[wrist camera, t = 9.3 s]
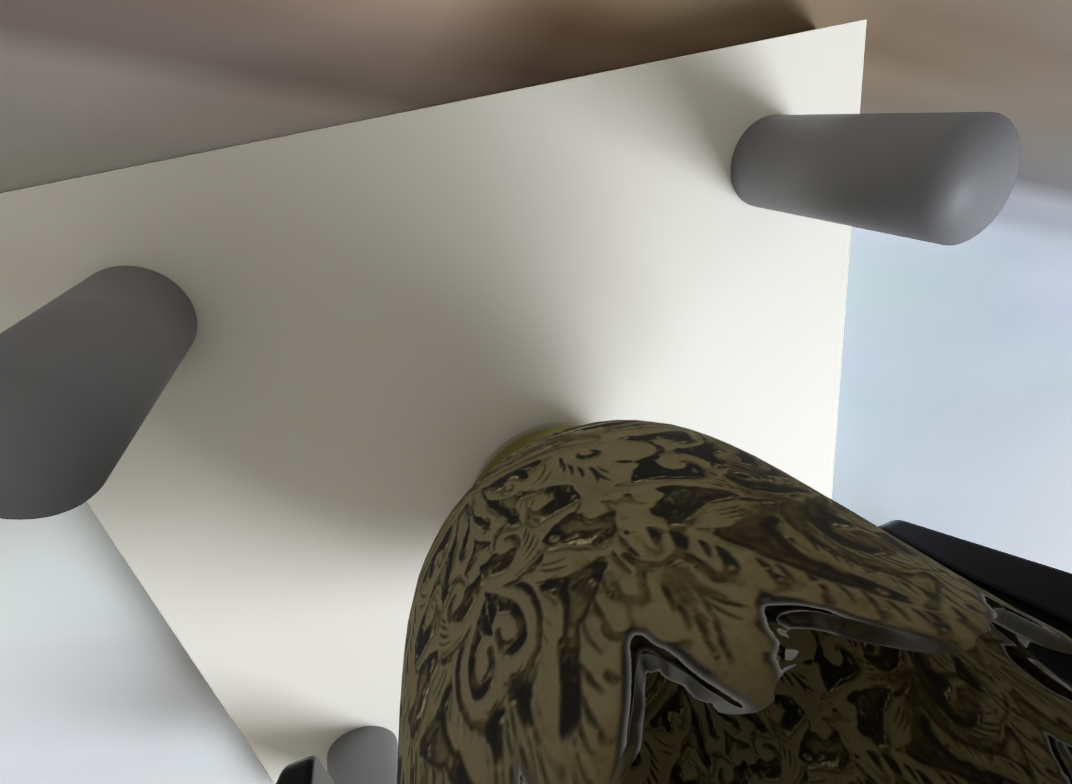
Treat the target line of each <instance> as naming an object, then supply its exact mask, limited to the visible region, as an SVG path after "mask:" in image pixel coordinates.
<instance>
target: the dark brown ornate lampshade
mask: <svg viewBox="0 0 1072 784" xmlns="http://www.w3.org/2000/svg"><path fill="white" fill-rule="evenodd" d="M1002 605H1004V606H1006V607H1008V608H1010V609H1012V610H1014V611H1016V612H1018V613H1020V614H1022V615H1024V616H1025V617H1027V618H1029V619H1031V620H1033V621H1035V622H1037V623H1039V624H1040V625H1042V626H1043V627H1042V626H1040V625H1038V624H1036V623H1034V622H1031V621H1029V620H1027V619H1025V618H1022V617H1020V616H1018V615H1017V614H1014V613H1012V612H1011V611H1007V610H1005V608H1004V607H1003V606H1002ZM1030 641H1031V642H1033V643H1036V644H1038V645H1041V646H1043V647H1046V648H1049V649H1052V650H1055V651H1058V652H1062V653H1067V654H1072V639H1071V638H1070V637H1068V636H1067V635H1066V634H1064V633H1063V632H1061V631H1059V630H1057V629H1055V628H1053V627H1051V626H1049V625H1047V624H1045V623H1043V622H1041V621H1039V620H1037V619H1035V618H1034V617H1032V616H1030V615H1028V614H1026V613H1024V612H1022V611H1020V610H1018V609H1016V608H1014V607H1012V606H1011V605H1009V604H1007V603H1006V602H1004V601H1002V600H1000V599H999V598H997V597H995V596H993V595H992V594H990V593H988V592H986V591H985V590H983V589H981V588H979V587H978V586H976V585H974V584H973V583H971V582H969V581H968V580H966V579H964V578H963V577H961V576H959V575H958V574H956V573H954V572H953V571H951V570H949V569H948V568H946V567H944V566H943V565H941V564H939V563H938V562H936V561H934V560H933V559H931V558H929V557H927V556H926V555H924V554H922V553H921V552H919V551H917V550H916V549H914V548H912V547H911V546H909V545H907V544H906V543H904V542H902V541H901V540H899V539H897V538H896V537H894V536H892V535H891V534H889V533H887V532H886V531H884V530H882V529H881V528H879V527H877V526H876V525H874V524H872V523H871V522H869V521H867V520H866V519H864V518H862V517H860V516H859V515H857V514H855V513H854V512H852V511H850V510H849V509H847V508H845V507H844V506H842V505H840V504H838V503H837V502H835V501H833V500H832V499H830V498H828V497H827V496H825V495H823V494H821V493H820V492H818V491H816V490H815V489H813V488H811V487H809V486H808V485H806V484H804V483H803V482H801V481H799V480H797V479H796V478H794V477H792V476H790V475H789V474H787V473H785V472H784V471H782V470H780V469H778V468H776V467H774V466H772V465H771V464H769V463H767V462H765V461H763V460H761V459H760V458H758V457H756V456H754V455H752V454H750V453H748V452H745V451H743V450H741V449H739V448H737V447H735V446H733V445H731V444H728V443H726V442H724V441H721V440H719V439H716V438H714V437H711V436H709V435H706V434H703V433H700V432H697V431H694V430H691V429H688V428H684V427H680V426H676V425H672V424H666V423H658V422H650V421H641V420H611V421H601V422H594V423H589V424H585V425H583V424H577V423H565V422H558V423H549V424H544V425H539V426H536V427H533V428H530V429H528V430H525V431H523V432H521V433H519V434H517V435H515V436H513V437H512V438H510V439H509V440H507V441H506V442H505V443H503V444H502V445H501V446H500V447H498V448H497V449H496V450H495V451H494V452H493V453H492V454H491V455H490V457H489V458H488V459H487V460H486V461H485V463H484V464H483V466H482V467H481V469H480V470H479V472H478V474H477V476H476V478H475V480H474V483H473V485H472V488H471V489H470V490H469V491H468V492H467V493H466V494H465V495H464V496H463V497H462V498H461V500H460V501H459V502H458V503H457V505H456V506H455V507H454V508H453V509H452V511H451V512H450V514H449V515H448V517H447V518H446V520H445V521H444V523H443V524H442V526H441V528H440V530H439V532H438V534H437V536H436V538H435V539H434V541H433V543H432V545H431V548H430V550H429V552H428V554H427V556H426V558H425V561H424V563H423V566H422V569H421V571H420V574H419V577H418V580H417V585H416V589H415V593H414V597H413V602H412V606H411V610H410V615H409V619H408V625H407V633H406V641H405V649H404V659H403V670H402V684H401V698H400V714H399V737H398V761H397V784H1072V755H1071V754H1070V752H1069V750H1068V748H1067V747H1066V744H1067V745H1068V746H1070V747H1072V684H1070V683H1069V682H1067V681H1066V680H1064V679H1062V678H1061V677H1059V676H1058V675H1056V674H1055V673H1054V672H1053V671H1051V670H1050V669H1049V668H1048V667H1046V666H1045V665H1044V664H1043V663H1041V662H1040V661H1039V660H1038V659H1036V658H1035V657H1034V656H1033V655H1032V654H1030V653H1029V652H1028V651H1027V650H1026V649H1025V648H1024V647H1026V648H1027V645H1028V644H1029V643H1030ZM1021 643H1022V644H1023V645H1024V647H1023V646H1022V644H1021Z"/></svg>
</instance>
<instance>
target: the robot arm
mask: <svg viewBox="0 0 1072 784" xmlns="http://www.w3.org/2000/svg"><path fill="white" fill-rule="evenodd" d="M878 527H879V528H881V529H882V530H884V531H886V532H887V533H889V534H891V535H892V536H894V537H896V538H897V539H899V540H901V541H902V542H904V543H906V544H907V545H909V546H911V547H912V548H914V549H916V550H917V551H919V552H921V553H922V554H924V555H926V556H927V557H929V558H931V559H933V560H934V561H936V562H938V563H939V564H941V565H943V566H944V567H946V568H948V569H949V570H951V571H953V572H954V573H956V574H958V575H959V576H961V577H963V578H964V579H966V580H968V581H969V582H971V583H973V584H974V585H976V586H978V587H979V588H981V589H983V590H985V591H986V592H988V593H990V594H992V595H993V596H995V597H997V598H999V599H1000V600H1002V601H1004V602H1006V603H1007V604H1009V605H1011V606H1012V607H1014V608H1016V609H1018V610H1020V611H1022V612H1024V613H1026V614H1028V615H1030V616H1032V617H1034V618H1035V619H1037V620H1039V621H1041V622H1043V623H1045V624H1047V625H1049V626H1051V627H1053V628H1055V629H1057V630H1059V631H1061V632H1063V633H1064V634H1066V635H1067V636H1068V637H1070V638H1071V639H1072V574H1071V573H1068V572H1065V571H1062V570H1058V569H1055V568H1052V567H1049V566H1046V565H1042V564H1039V563H1036V562H1033V561H1030V560H1027V559H1023V558H1020V557H1017V556H1014V555H1011V554H1007V553H1004V552H1001V551H998V550H995V549H992V548H988V547H985V546H982V545H979V544H976V543H972V542H969V541H966V540H963V539H960V538H957V537H953V536H950V535H947V534H944V533H941V532H937V531H934V530H931V529H928V528H925V527H921V526H918V525H915V524H912V523H909V522H906V521H901V520H894V521H891V522H888V523H886V524H883V525H881V526H878ZM1002 606H1003V607H1004V608H1005V610H1007V611H1011V612H1012V613H1014V614H1017V615H1018V616H1020V617H1022V618H1025V619H1027V620H1029V621H1031V622H1034V623H1036V624H1038V625H1040V624H1039V623H1037V622H1035V621H1033V620H1031V619H1029V618H1027V617H1025V616H1024V615H1022V614H1020V613H1018V612H1016V611H1014V610H1012V609H1010V608H1008V607H1006V606H1004V605H1002ZM1040 626H1042V625H1040ZM1042 627H1043V626H1042ZM1021 644H1022V643H1021ZM1022 646H1023V647H1024V645H1023V644H1022ZM1024 648H1025V649H1026V650H1027V651H1028V652H1029V653H1030V654H1032V655H1033V656H1034V657H1035V658H1036V659H1038V660H1039V661H1040V662H1041V663H1043V664H1044V665H1045V666H1046V667H1048V668H1049V669H1050V670H1051V671H1053V672H1054V673H1055V674H1056V675H1058V676H1059V677H1061V678H1062V679H1064V680H1066V681H1067V682H1069V683H1070V684H1072V654H1067V653H1062V652H1058V651H1055V650H1052V649H1049V648H1046V647H1043V646H1041V645H1038V644H1036V643H1033V642H1031V641H1030V643H1029V644H1028V645H1027V648H1026V647H1024ZM1066 747H1067V748H1068V750H1069V752H1070V754H1071V755H1072V747H1070V746H1068V745H1067V744H1066ZM276 784H334V782H333V781H332V779H331V777H330V776H329V774H328V772H327V770H326V769H325V767H324V765H323V764H322V762H321V760H320V759H319V758H318V757H317V756H315V755H310V756H308V757H305V758H303V759H300V760H298V761H295V762H293V763H290V764H289V765H287V766H286V767H285V768H284V769H283V770H282V772H281V773H280V775H279V778H278V780H277V782H276Z"/></svg>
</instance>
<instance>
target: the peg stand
mask: <svg viewBox="0 0 1072 784" xmlns="http://www.w3.org/2000/svg"><path fill="white" fill-rule="evenodd" d="M866 21H867V20H862V21H856V22H851V23H846V24H841V25H835V26H830V27H825V28H819V29H814V30H809V31H804V32H799V33H795V34H790V35H785V36H780V37H775V38H770V39H765V40H760V41H755V42H750V43H745V44H740V45H735V46H730V47H725V48H720V49H715V50H710V51H705V52H700V53H695V54H690V55H685V56H680V57H675V58H670V59H665V60H660V61H655V62H650V63H645V64H640V65H635V66H630V67H625V68H621V69H616V70H611V71H606V72H601V73H596V74H591V75H586V76H581V77H576V78H571V79H566V80H561V81H556V82H551V83H546V84H541V85H536V86H531V87H526V88H521V89H516V90H511V91H506V92H501V93H496V94H491V95H486V96H481V97H476V98H471V99H466V100H461V101H456V102H451V103H446V104H442V105H437V106H432V107H427V108H422V109H417V110H412V111H407V112H402V113H397V114H392V115H387V116H382V117H377V118H372V119H367V120H362V121H357V122H352V123H347V124H342V125H337V126H332V127H327V128H322V129H317V130H312V131H307V132H302V133H297V134H292V135H287V136H282V137H277V138H272V139H268V140H263V141H258V142H253V143H248V144H243V145H238V146H233V147H228V148H223V149H218V150H213V151H208V152H203V153H198V154H193V155H188V156H183V157H178V158H173V159H168V160H163V161H158V162H153V163H148V164H143V165H138V166H133V167H128V168H123V169H118V170H113V171H108V172H103V173H98V174H94V175H89V176H84V177H79V178H74V179H69V180H64V181H59V182H54V183H49V184H44V185H39V186H34V187H29V188H24V189H19V190H14V191H9V192H4V193H0V518H3V519H20V520H21V519H36V518H43V517H49V516H53V515H57V514H60V513H63V512H66V511H69V510H71V509H73V508H75V507H77V506H79V505H81V504H83V503H84V502H87V504H88V505H89V507H90V508H91V510H92V511H93V513H94V514H95V516H96V517H97V519H98V520H99V522H100V523H101V525H102V526H103V528H104V529H105V531H106V532H107V534H108V535H109V537H110V538H111V540H112V541H113V543H114V544H115V546H116V547H117V549H118V550H119V552H120V553H121V555H122V556H123V558H124V559H125V561H126V562H127V564H128V565H129V567H130V568H131V570H132V571H133V572H134V574H135V575H136V577H137V578H138V580H139V581H140V583H141V584H142V586H143V587H144V589H145V590H146V592H147V593H148V595H149V596H150V598H151V599H152V601H153V602H154V604H155V605H156V607H157V608H158V610H159V611H160V613H161V614H162V616H163V617H164V619H165V620H166V622H167V623H168V625H169V626H170V628H171V629H172V631H173V632H174V634H175V635H176V637H177V638H178V640H179V641H180V643H181V644H182V646H183V647H184V649H185V650H186V652H187V653H188V655H189V656H190V658H191V659H192V661H193V662H194V664H195V665H196V667H197V668H198V670H199V671H200V673H201V674H202V676H203V677H204V679H205V680H206V682H207V683H208V685H209V686H210V688H211V689H212V691H213V692H214V694H215V695H216V696H217V698H218V699H219V701H220V702H221V704H222V705H223V707H224V708H225V710H226V711H227V713H228V714H229V716H230V717H231V719H232V720H233V722H234V723H235V725H236V726H237V728H238V729H239V731H240V732H241V734H242V735H243V737H244V738H245V740H246V741H247V743H248V744H249V746H250V747H251V749H252V750H253V752H254V753H255V755H256V756H257V758H258V759H259V761H260V762H261V764H262V765H263V767H264V768H265V770H266V771H267V773H268V774H269V776H270V777H271V779H272V780H273V782H274V783H275V784H276V782H277V780H278V778H279V775H280V773H281V772H282V770H283V769H284V768H285V767H286V766H287V765H289V764H290V763H293V762H295V761H298V760H300V759H303V758H305V757H308V756H310V755H315V756H317V757H318V758H319V759H320V760H321V762H322V764H323V765H324V767H325V769H326V770H327V772H328V774H329V776H330V777H331V779H332V781H333V782H334V784H397V761H398V737H399V714H400V698H401V684H402V670H403V659H404V649H405V641H406V633H407V625H408V619H409V615H410V610H411V606H412V602H413V597H414V593H415V589H416V585H417V580H418V577H419V574H420V571H421V569H422V566H423V563H424V561H425V558H426V556H427V554H428V552H429V550H430V548H431V545H432V543H433V541H434V539H435V538H436V536H437V534H438V532H439V530H440V528H441V526H442V524H443V523H444V521H445V520H446V518H447V517H448V515H449V514H450V512H451V511H452V509H453V508H454V507H455V506H456V505H457V503H458V502H459V501H460V500H461V498H462V497H463V496H464V495H465V494H466V493H467V492H468V491H469V490H470V489H471V488H472V485H473V483H474V480H475V478H476V476H477V474H478V472H479V470H480V469H481V467H482V466H483V464H484V463H485V461H486V460H487V459H488V458H489V457H490V455H491V454H492V453H493V452H494V451H495V450H496V449H497V448H498V447H500V446H501V445H502V444H503V443H505V442H506V441H507V440H509V439H510V438H512V437H513V436H515V435H517V434H519V433H521V432H523V431H525V430H528V429H530V428H533V427H536V426H539V425H544V424H549V423H558V422H565V423H577V424H583V425H585V424H589V423H594V422H601V421H611V420H641V421H650V422H658V423H666V424H672V425H676V426H680V427H684V428H688V429H691V430H694V431H697V432H700V433H703V434H706V435H709V436H711V437H714V438H716V439H719V440H721V441H724V442H726V443H728V444H731V445H733V446H735V447H737V448H739V449H741V450H743V451H745V452H748V453H750V454H752V455H754V456H756V457H758V458H760V459H761V460H763V461H765V462H767V463H769V464H771V465H772V466H774V467H776V468H778V469H780V470H782V471H784V472H785V473H787V474H789V475H790V476H792V477H794V478H796V479H797V480H799V481H801V482H803V483H804V484H806V485H808V486H809V487H811V488H813V489H815V490H816V491H818V492H820V493H821V494H823V495H825V496H827V497H828V498H830V499H832V486H833V472H834V458H835V445H836V431H837V417H838V404H839V390H840V376H841V363H842V349H843V335H844V322H845V308H846V294H847V281H848V267H849V253H850V240H851V226H853V227H858V228H863V229H868V230H873V231H877V232H882V233H887V234H892V235H897V236H902V237H907V238H912V239H917V240H922V241H927V242H932V243H937V244H942V245H956V244H960V243H963V242H965V241H968V240H969V239H971V238H973V237H975V236H976V235H978V234H979V233H980V232H981V231H983V230H984V229H985V228H986V227H987V226H988V225H989V224H990V223H991V222H992V221H993V220H994V219H995V217H996V216H997V215H998V213H999V212H1000V211H1001V209H1002V208H1003V206H1004V205H1005V203H1006V201H1007V199H1008V197H1009V195H1010V193H1011V191H1012V189H1013V186H1014V184H1015V181H1016V178H1017V174H1018V170H1019V164H1020V153H1021V150H1020V141H1019V136H1018V133H1017V130H1016V128H1015V126H1014V125H1013V123H1012V122H1011V121H1010V120H1009V119H1008V118H1007V117H1005V116H1004V115H1002V114H999V113H995V112H952V113H879V114H860V103H861V89H862V76H863V62H864V48H865V35H866Z"/></svg>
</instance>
